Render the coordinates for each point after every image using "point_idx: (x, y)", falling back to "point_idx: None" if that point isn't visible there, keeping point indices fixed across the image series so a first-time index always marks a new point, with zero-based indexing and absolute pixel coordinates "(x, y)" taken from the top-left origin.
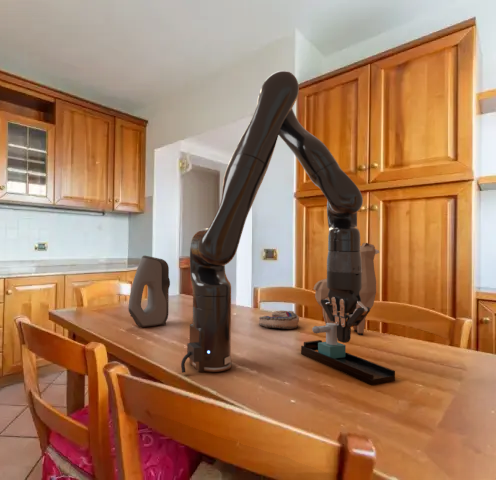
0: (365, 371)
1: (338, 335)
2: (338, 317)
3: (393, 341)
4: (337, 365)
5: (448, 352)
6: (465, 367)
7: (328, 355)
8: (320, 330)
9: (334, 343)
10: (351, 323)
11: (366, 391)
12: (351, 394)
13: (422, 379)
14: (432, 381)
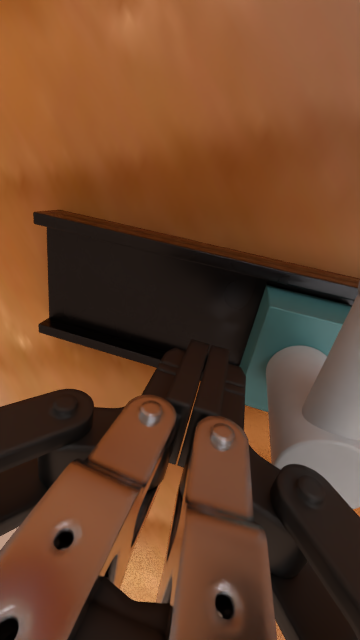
0: (66, 228)
1: (220, 365)
2: (190, 489)
3: None
4: (208, 247)
5: (129, 589)
6: None
7: (278, 291)
8: (355, 303)
9: (271, 362)
10: (28, 404)
11: (31, 133)
12: (27, 32)
13: (45, 386)
14: (29, 390)
